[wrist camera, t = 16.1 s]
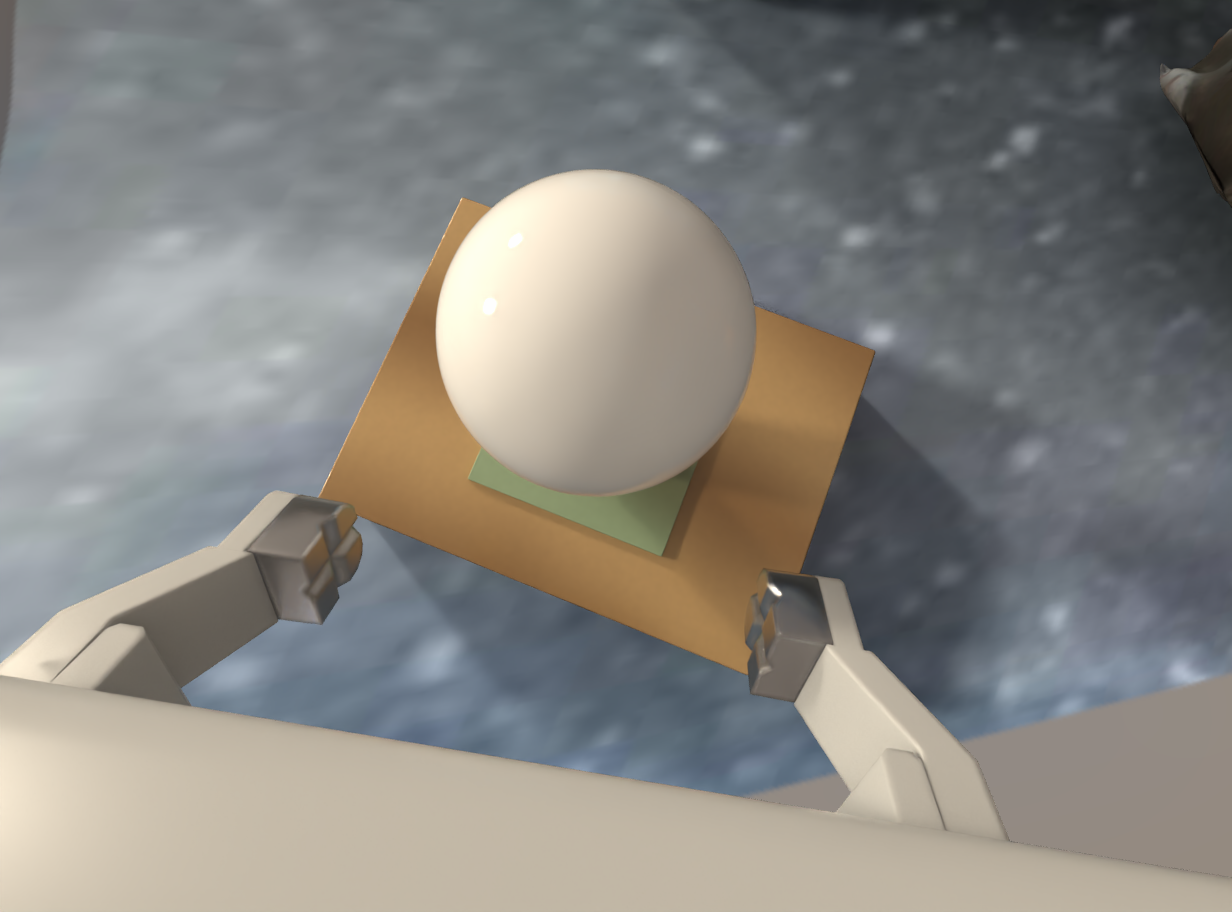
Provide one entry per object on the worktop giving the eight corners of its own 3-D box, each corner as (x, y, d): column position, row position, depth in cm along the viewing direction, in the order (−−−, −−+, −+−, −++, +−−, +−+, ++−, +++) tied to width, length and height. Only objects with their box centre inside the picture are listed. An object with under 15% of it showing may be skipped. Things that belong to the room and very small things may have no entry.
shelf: (742, 663, 21) (765, 684, 18) (356, 505, 22) (313, 498, 19) (842, 375, 23) (879, 348, 20) (480, 239, 24) (460, 192, 21)
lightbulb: (731, 397, 20) (878, 211, 9) (631, 553, 19) (656, 565, 8) (577, 301, 20) (536, 14, 9) (474, 450, 19) (294, 325, 8)
